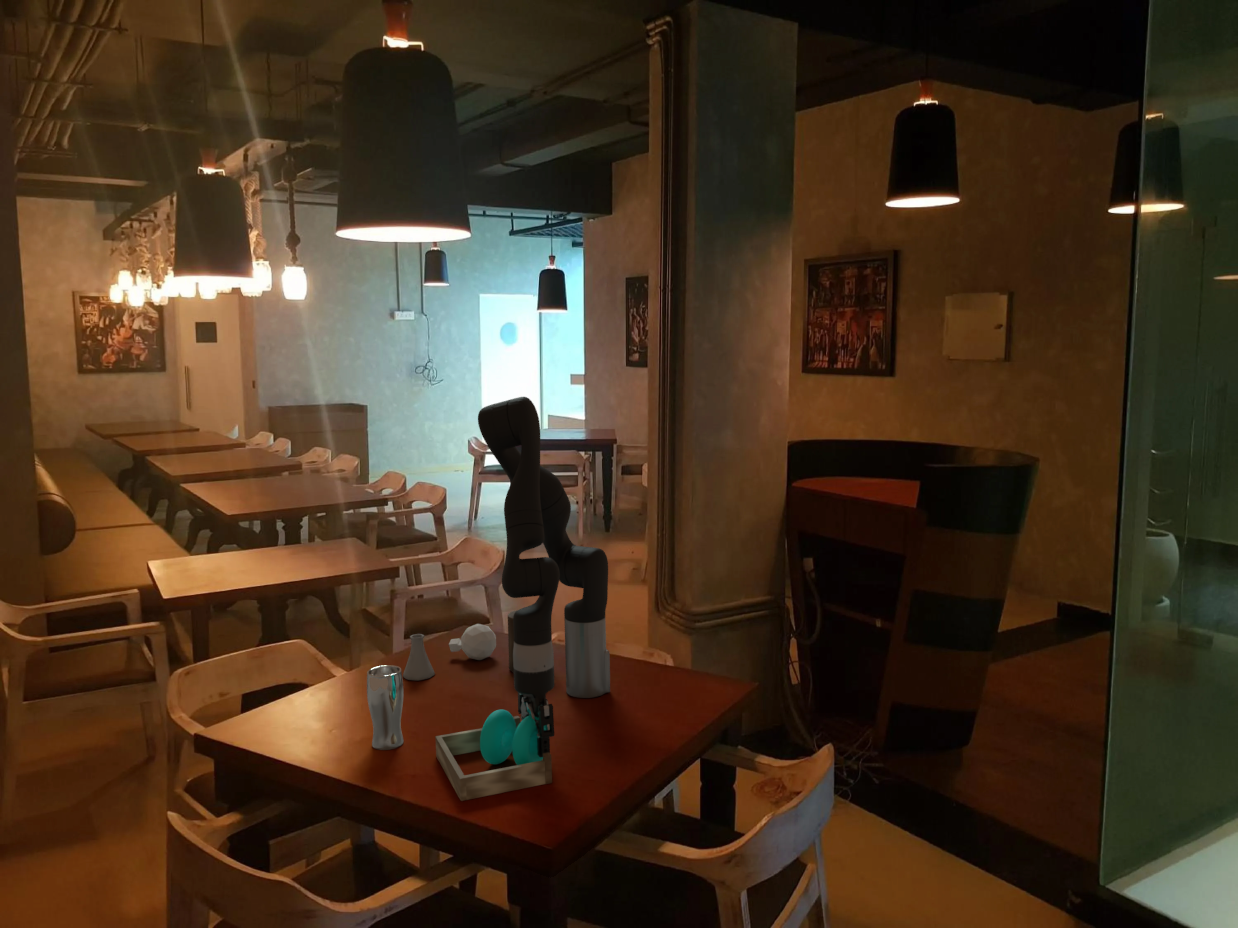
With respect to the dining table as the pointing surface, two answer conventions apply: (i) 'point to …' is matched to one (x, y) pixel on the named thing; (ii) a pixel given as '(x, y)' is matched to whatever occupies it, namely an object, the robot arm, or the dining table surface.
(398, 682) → the beer glass
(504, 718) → the teal diabolo
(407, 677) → the flask
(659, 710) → the dining table surface
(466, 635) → the perfume bottle
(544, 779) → the box
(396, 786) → the dining table surface
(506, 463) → the robot arm
